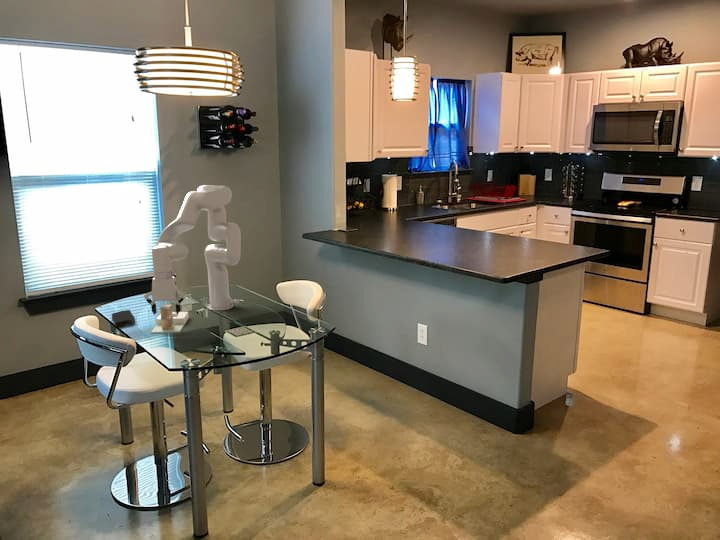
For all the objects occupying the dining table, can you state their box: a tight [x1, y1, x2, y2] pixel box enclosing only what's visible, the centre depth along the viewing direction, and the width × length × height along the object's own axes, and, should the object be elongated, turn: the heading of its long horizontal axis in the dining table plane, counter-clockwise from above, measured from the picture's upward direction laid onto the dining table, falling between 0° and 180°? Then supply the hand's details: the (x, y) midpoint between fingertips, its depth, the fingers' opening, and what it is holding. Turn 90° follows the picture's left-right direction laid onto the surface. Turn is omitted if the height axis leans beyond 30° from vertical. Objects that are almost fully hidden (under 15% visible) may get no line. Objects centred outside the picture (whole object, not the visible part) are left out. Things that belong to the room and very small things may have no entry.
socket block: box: [155, 311, 190, 326], centre depth 260 cm, size 12×10×4 cm
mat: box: [150, 324, 185, 334], centre depth 250 cm, size 12×9×1 cm
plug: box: [159, 304, 173, 330], centre depth 249 cm, size 4×4×10 cm
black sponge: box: [111, 309, 136, 328], centre depth 261 cm, size 16×8×4 cm, turn 30°
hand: (166, 313), depth 248 cm, fingers open, 9 cm apart
